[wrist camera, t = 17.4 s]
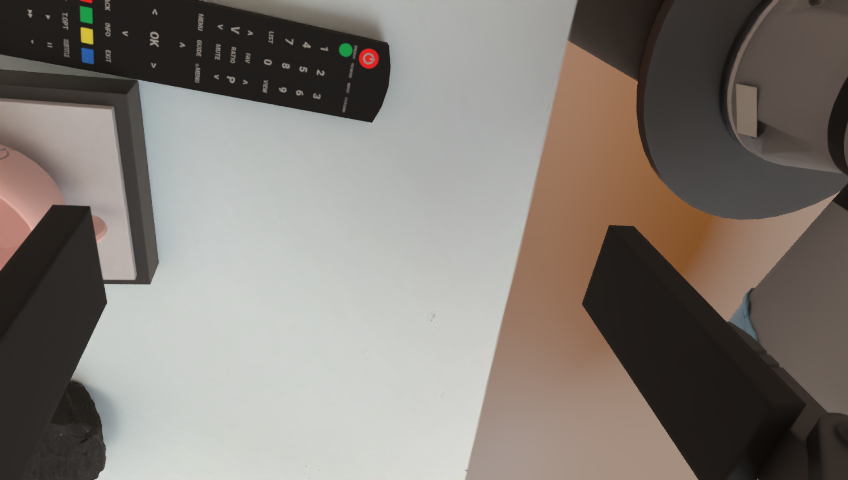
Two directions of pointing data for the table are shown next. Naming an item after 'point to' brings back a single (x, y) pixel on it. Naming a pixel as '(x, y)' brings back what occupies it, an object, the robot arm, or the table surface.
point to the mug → (26, 201)
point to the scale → (89, 157)
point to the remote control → (204, 51)
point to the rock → (70, 441)
